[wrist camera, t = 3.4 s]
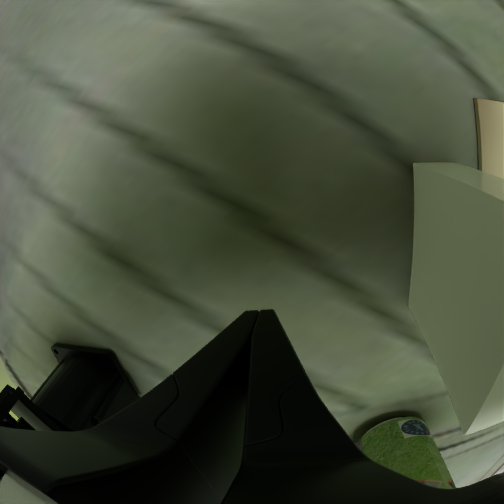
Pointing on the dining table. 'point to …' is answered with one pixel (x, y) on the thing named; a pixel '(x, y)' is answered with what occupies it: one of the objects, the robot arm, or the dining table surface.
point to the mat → (490, 136)
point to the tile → (461, 285)
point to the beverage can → (407, 450)
